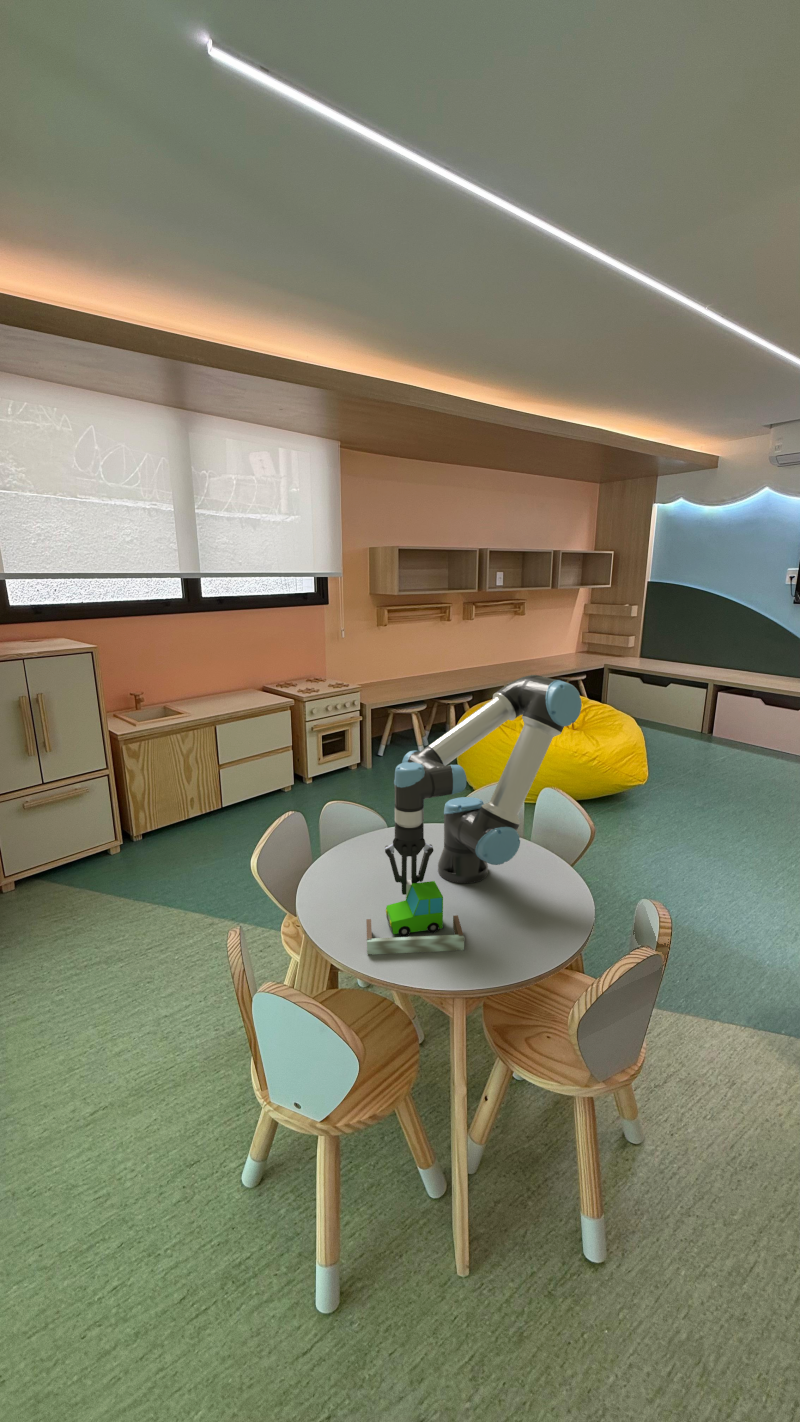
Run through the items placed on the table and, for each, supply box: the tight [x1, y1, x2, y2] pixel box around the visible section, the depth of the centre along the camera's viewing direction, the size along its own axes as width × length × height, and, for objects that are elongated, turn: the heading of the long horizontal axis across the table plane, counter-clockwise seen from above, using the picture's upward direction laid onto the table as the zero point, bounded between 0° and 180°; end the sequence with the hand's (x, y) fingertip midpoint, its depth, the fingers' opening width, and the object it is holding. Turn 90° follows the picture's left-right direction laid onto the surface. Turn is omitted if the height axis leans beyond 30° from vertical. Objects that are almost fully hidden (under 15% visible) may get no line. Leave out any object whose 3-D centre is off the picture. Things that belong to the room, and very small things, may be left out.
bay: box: [366, 914, 465, 955], centre depth 151 cm, size 23×10×4 cm, turn 94°
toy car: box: [385, 880, 444, 937], centre depth 156 cm, size 10×13×10 cm
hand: (408, 904), depth 163 cm, fingers closed
